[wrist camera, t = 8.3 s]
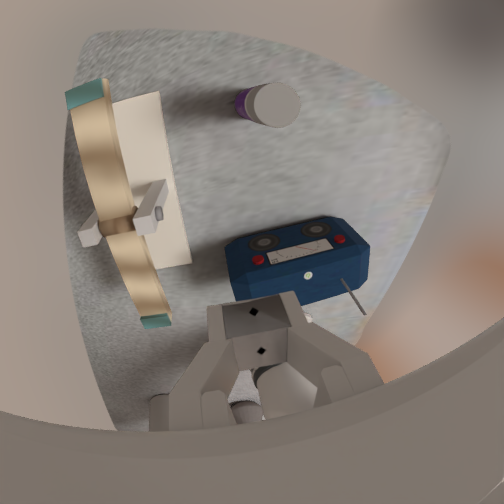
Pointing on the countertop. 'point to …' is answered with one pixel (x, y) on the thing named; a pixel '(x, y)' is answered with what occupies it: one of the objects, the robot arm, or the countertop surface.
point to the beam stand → (147, 182)
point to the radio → (300, 262)
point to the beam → (115, 198)
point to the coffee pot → (247, 412)
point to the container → (269, 104)
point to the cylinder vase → (159, 413)
